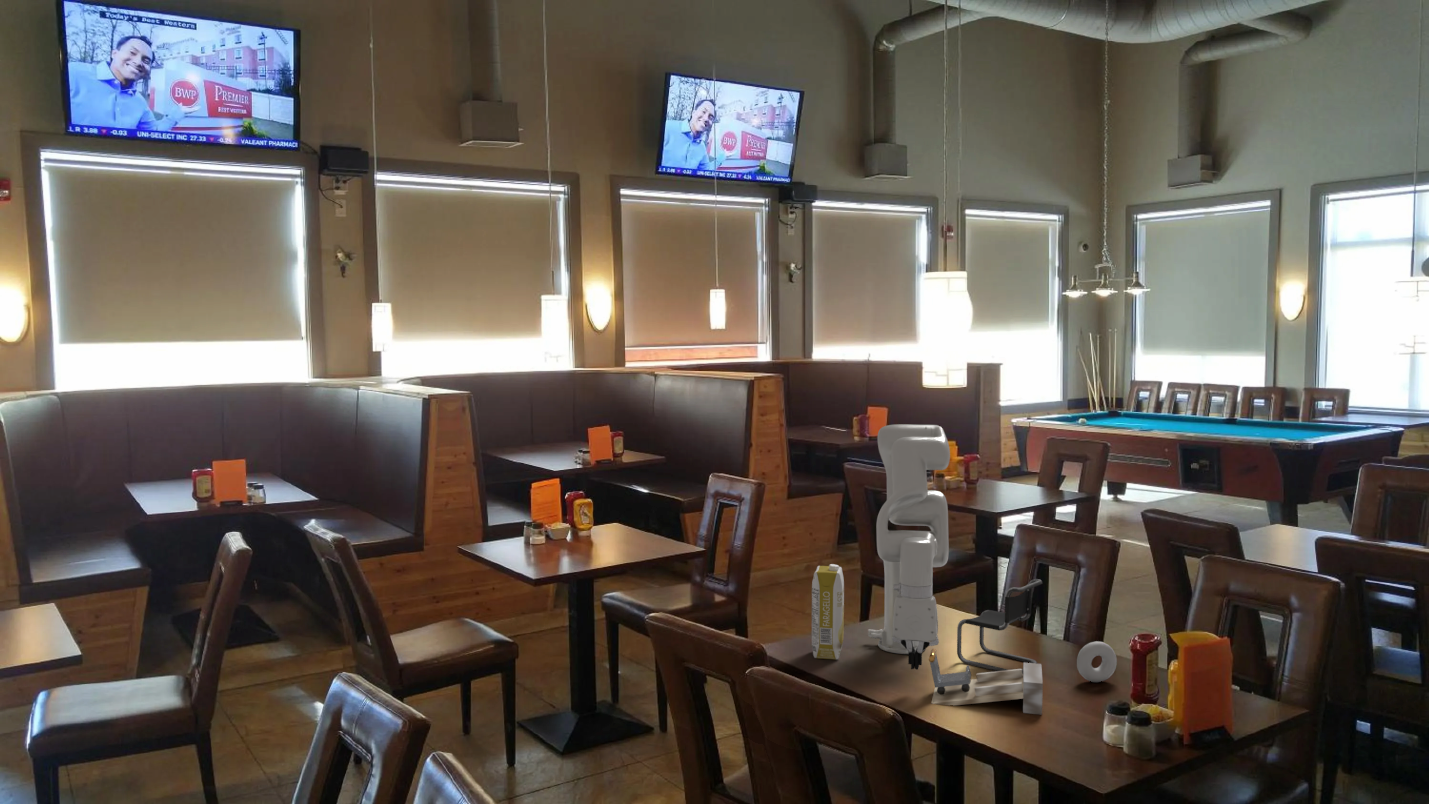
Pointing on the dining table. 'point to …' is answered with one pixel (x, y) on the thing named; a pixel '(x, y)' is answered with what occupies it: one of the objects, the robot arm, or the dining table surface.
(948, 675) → the trolley
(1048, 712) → the dining table surface
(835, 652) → the juice carton
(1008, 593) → the chair
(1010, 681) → the dock
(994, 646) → the dining table surface
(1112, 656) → the donut
